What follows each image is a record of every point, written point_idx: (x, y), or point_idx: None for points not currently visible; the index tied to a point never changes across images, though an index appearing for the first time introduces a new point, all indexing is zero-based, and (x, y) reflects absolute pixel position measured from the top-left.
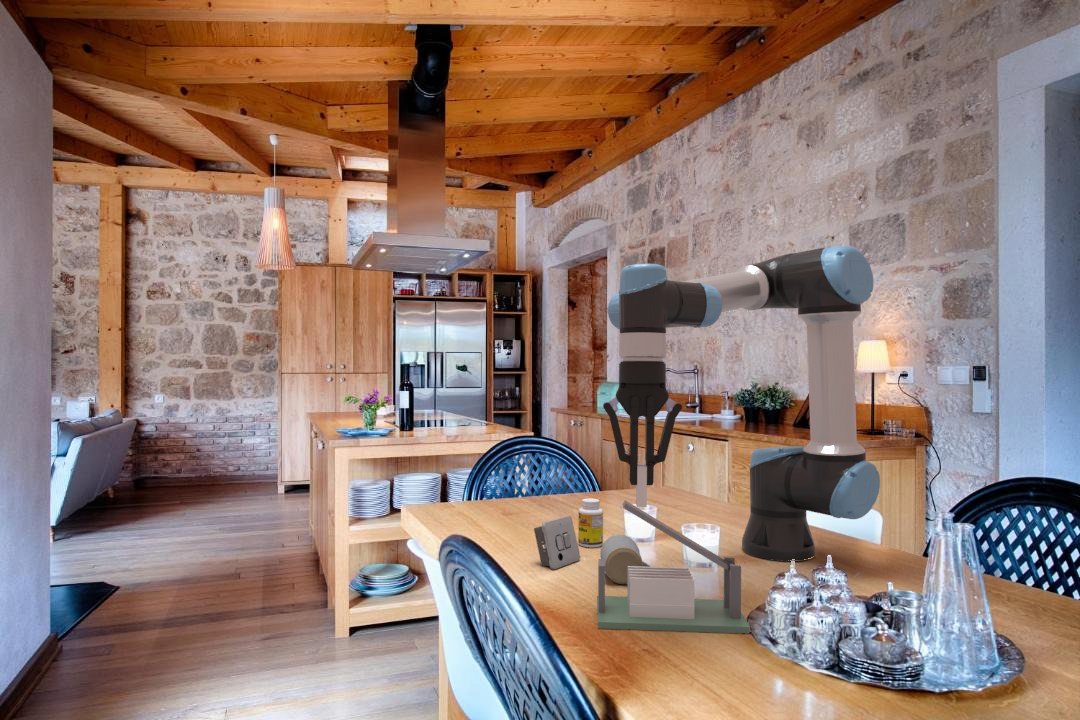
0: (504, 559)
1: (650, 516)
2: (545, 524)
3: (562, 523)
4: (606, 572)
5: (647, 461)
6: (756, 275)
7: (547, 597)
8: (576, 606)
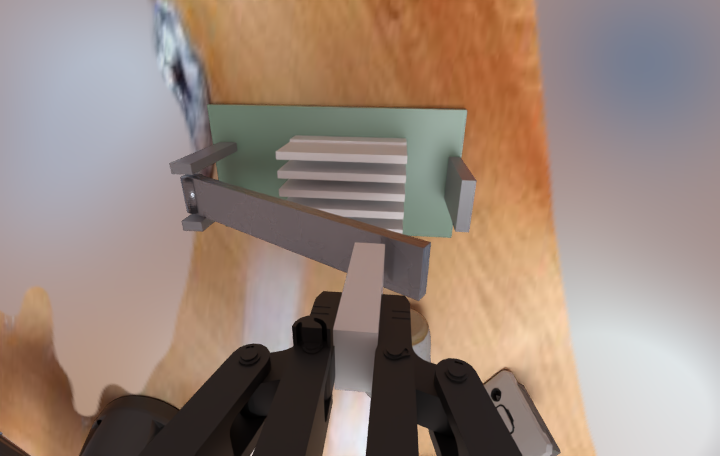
0: (584, 415)
1: (344, 256)
2: (545, 447)
3: None
4: (425, 319)
5: (325, 349)
6: None
7: (535, 249)
8: (489, 210)
